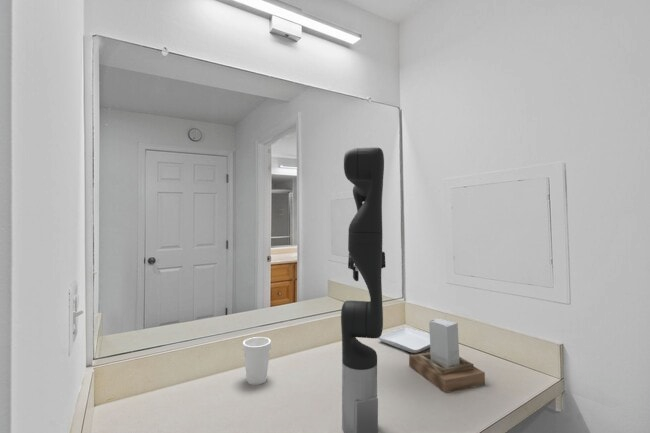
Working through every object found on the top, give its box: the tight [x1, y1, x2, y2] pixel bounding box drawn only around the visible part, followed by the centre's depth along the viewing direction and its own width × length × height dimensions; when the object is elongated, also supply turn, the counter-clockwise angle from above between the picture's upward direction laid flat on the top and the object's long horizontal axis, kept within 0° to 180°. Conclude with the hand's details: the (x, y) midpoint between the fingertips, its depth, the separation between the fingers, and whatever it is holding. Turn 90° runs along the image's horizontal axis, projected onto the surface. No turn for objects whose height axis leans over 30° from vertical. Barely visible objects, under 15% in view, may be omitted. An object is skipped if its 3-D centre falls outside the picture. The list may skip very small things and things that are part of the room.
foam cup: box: [242, 336, 272, 385], centre depth 115 cm, size 10×9×13 cm
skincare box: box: [428, 317, 460, 368], centre depth 118 cm, size 8×6×15 cm
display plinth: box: [408, 351, 486, 393], centre depth 119 cm, size 20×16×6 cm
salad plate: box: [377, 326, 430, 354], centre depth 148 cm, size 21×21×3 cm
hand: (366, 280), depth 125 cm, fingers open, 8 cm apart
